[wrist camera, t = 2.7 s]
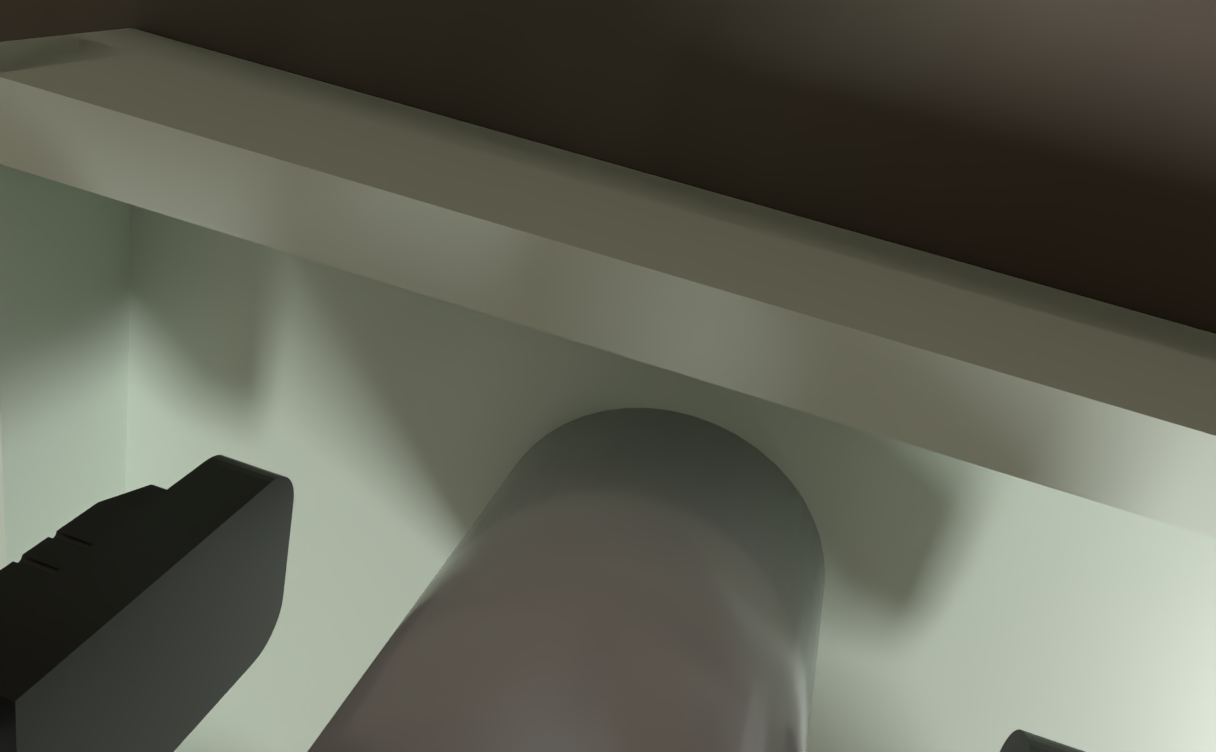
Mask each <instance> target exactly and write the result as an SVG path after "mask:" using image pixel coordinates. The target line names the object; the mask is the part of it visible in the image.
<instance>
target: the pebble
mask: <svg viewBox="0 0 1216 752" xmlns="http://www.w3.org/2000/svg"><path fill="white" fill-rule="evenodd" d="M824 587H825V560H824V554H823V549H822V544H821V539H820V536H819V533H818V530H817V527H816V525H815V522H814V519H813V517H812V515H811V513H810V511H809V509H808V507H807V505H806V503H805V501H804V500H803V498H802V497H801V495H800V494H799V492H798V491H797V489H796V488H795V487H794V485H793V484H792V482H791V481H790V480H789V479H788V478H787V477H786V475H785V474H784V473H783V472H782V471H781V470H780V469H779V468H778V466H777V465H776V464H775V463H773V462H772V461H771V460H770V459H769V458H768V457H766V456H765V455H764V454H763V453H762V452H761V451H760V450H758V449H757V448H756V447H754V446H753V445H751V444H750V443H748V442H747V441H745V440H744V439H742V438H741V437H739V436H738V435H736V434H734V433H732V432H730V431H728V430H726V429H724V428H722V427H720V426H718V425H716V424H713V423H711V422H708V421H706V420H703V419H700V418H698V417H695V416H691V415H687V414H683V413H679V412H675V411H669V410H661V409H653V408H622V409H614V410H606V411H601V412H597V413H594V414H590V415H586V416H583V417H580V418H578V419H575V420H573V421H571V422H568V423H566V424H564V425H562V426H560V427H559V428H557V429H555V430H553V431H552V432H550V433H548V434H547V435H546V436H544V437H543V438H542V439H541V440H539V441H538V442H537V443H536V444H534V445H533V446H532V447H531V448H530V449H529V450H528V451H527V452H526V454H525V455H524V456H523V457H522V458H521V459H520V460H519V461H518V463H517V464H516V466H515V467H514V468H513V470H512V471H511V472H510V474H509V475H508V477H507V478H506V479H505V481H504V482H503V483H502V485H501V486H500V487H499V489H498V490H497V492H496V493H495V494H494V496H493V497H492V498H491V500H490V501H489V503H488V504H487V505H486V507H485V508H484V509H483V511H482V512H481V514H480V515H479V516H478V518H477V519H476V520H475V522H474V523H473V525H472V526H471V527H470V529H469V530H468V531H467V533H466V534H465V536H464V537H463V538H462V540H461V541H460V542H459V544H458V545H457V547H456V548H455V549H454V551H453V552H452V553H451V555H450V556H449V558H448V559H447V560H446V562H445V563H444V564H443V566H442V567H441V569H440V570H439V571H438V573H437V574H436V575H435V577H434V578H433V580H432V581H431V582H430V584H429V585H428V586H427V588H426V589H425V591H424V592H423V593H422V595H421V596H420V597H419V599H418V600H417V602H416V603H415V604H414V606H413V607H412V608H411V610H410V611H409V613H408V614H407V615H406V617H405V618H404V619H403V621H402V622H401V624H400V625H399V626H398V628H397V629H396V630H395V632H394V633H393V635H392V636H391V637H390V639H389V640H388V641H387V643H386V644H385V646H384V647H383V648H382V650H381V651H380V652H379V654H378V655H377V657H376V658H375V659H374V661H373V662H372V663H371V665H370V666H369V668H368V669H367V670H366V672H365V673H364V674H363V676H362V677H361V679H360V680H359V681H358V683H357V684H356V685H355V687H354V688H353V690H352V691H351V692H350V694H349V695H348V696H347V698H346V699H345V701H344V702H343V703H342V705H341V706H340V707H339V709H338V710H337V712H336V713H335V714H334V716H333V717H332V718H331V720H330V721H329V723H328V724H327V725H326V727H325V728H324V729H323V731H322V732H321V734H320V735H319V736H318V738H317V739H316V740H315V742H314V743H313V745H312V746H311V747H310V749H309V750H308V751H307V752H807V744H808V735H809V726H810V717H811V707H812V698H813V689H814V679H815V670H816V661H817V652H818V642H819V633H820V624H821V615H822V605H823V596H824Z"/></svg>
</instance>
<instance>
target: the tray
mask: <svg viewBox="0 0 1216 752" xmlns="http://www.w3.org/2000/svg"><path fill="white" fill-rule="evenodd" d="M622 408H653V409H661V410H669V411H675V412H679V413H683V414H687V415H691V416H695V417H698V418H700V419H703V420H706V421H708V422H711V423H713V424H716V425H718V426H720V427H722V428H724V429H726V430H728V431H730V432H732V433H734V434H736V435H738V436H739V437H741V438H742V439H744V440H745V441H747V442H748V443H750V444H751V445H753V446H754V447H756V448H757V449H758V450H760V451H761V452H762V453H763V454H764V455H765V456H766V457H768V458H769V459H770V460H771V461H772V462H773V463H775V464H776V465H777V466H778V468H779V469H780V470H781V471H782V472H783V473H784V474H785V475H786V477H787V478H788V479H789V480H790V481H791V482H792V484H793V485H794V487H795V488H796V489H797V491H798V492H799V494H800V495H801V497H802V498H803V500H804V501H805V503H806V505H807V507H808V509H809V511H810V513H811V515H812V517H813V519H814V522H815V525H816V527H817V530H818V533H819V536H820V539H821V544H822V549H823V554H824V560H825V587H824V596H823V605H822V615H821V624H820V633H819V642H818V652H817V661H816V670H815V679H814V689H813V698H812V707H811V717H810V726H809V735H808V744H807V752H1000V750H1001V748H1002V746H1003V744H1004V743H1005V741H1006V739H1007V738H1008V737H1009V735H1010V734H1011V733H1012V732H1014V731H1015V730H1019V729H1020V730H1023V731H1026V732H1029V733H1032V734H1035V735H1038V736H1041V737H1044V738H1047V739H1050V740H1053V741H1056V742H1058V743H1061V744H1064V745H1067V746H1070V747H1073V748H1076V749H1079V750H1082V751H1085V752H1216V334H1215V333H1211V332H1208V331H1204V330H1200V329H1197V328H1193V327H1190V326H1186V325H1183V324H1179V323H1176V322H1172V321H1169V320H1165V319H1161V318H1158V317H1154V316H1151V315H1147V314H1144V313H1140V312H1137V311H1133V310H1130V309H1126V308H1122V307H1119V306H1115V305H1112V304H1108V303H1105V302H1101V301H1098V300H1094V299H1091V298H1087V297H1084V296H1080V295H1076V294H1073V293H1069V292H1066V291H1062V290H1059V289H1055V288H1052V287H1048V286H1045V285H1041V284H1037V283H1034V282H1030V281H1027V280H1023V279H1020V278H1016V277H1013V276H1009V275H1006V274H1002V273H998V272H995V271H991V270H988V269H984V268H981V267H977V266H974V265H970V264H967V263H963V262H959V261H956V260H952V259H949V258H945V257H942V256H938V255H935V254H931V253H928V252H924V251H920V250H917V249H913V248H910V247H906V246H903V245H899V244H896V243H892V242H889V241H885V240H881V239H878V238H874V237H871V236H867V235H864V234H860V233H857V232H853V231H850V230H846V229H842V228H839V227H835V226H832V225H828V224H825V223H821V222H818V221H814V220H811V219H807V218H804V217H800V216H796V215H793V214H789V213H786V212H782V211H779V210H775V209H772V208H768V207H765V206H761V205H757V204H754V203H750V202H747V201H743V200H740V199H736V198H733V197H729V196H726V195H722V194H718V193H715V192H711V191H708V190H704V189H701V188H697V187H694V186H690V185H687V184H683V183H679V182H676V181H672V180H669V179H665V178H662V177H658V176H655V175H651V174H648V173H644V172H640V171H637V170H633V169H630V168H626V167H623V166H619V165H616V164H612V163H609V162H605V161H601V160H598V159H594V158H591V157H587V156H584V155H580V154H577V153H573V152H570V151H566V150H562V149H559V148H555V147H552V146H548V145H545V144H541V143H538V142H534V141H531V140H527V139H524V138H520V137H516V136H513V135H509V134H506V133H502V132H499V131H495V130H492V129H488V128H485V127H481V126H477V125H474V124H470V123H467V122H463V121H460V120H456V119H453V118H449V117H446V116H442V115H438V114H435V113H431V112H428V111H424V110H421V109H417V108H414V107H410V106H407V105H403V104H399V103H396V102H392V101H389V100H385V99H382V98H378V97H375V96H371V95H368V94H364V93H360V92H357V91H353V90H350V89H346V88H343V87H339V86H336V85H332V84H329V83H325V82H321V81H318V80H314V79H311V78H307V77H304V76H300V75H297V74H293V73H290V72H286V71H283V70H279V69H275V68H272V67H268V66H265V65H261V64H258V63H254V62H251V61H247V60H244V59H240V58H236V57H233V56H229V55H226V54H222V53H219V52H215V51H212V50H208V49H205V48H201V47H197V46H194V45H190V44H187V43H183V42H180V41H176V40H173V39H169V38H166V37H162V36H158V35H155V34H151V33H148V32H144V31H141V30H137V29H134V28H125V29H116V30H106V31H97V32H88V33H78V34H69V35H60V36H50V37H41V38H32V39H22V40H13V41H4V42H0V570H1V569H2V568H4V567H5V566H7V565H8V564H10V563H11V562H13V561H14V562H17V563H18V562H19V561H20V560H21V557H22V555H23V554H24V553H25V552H27V551H28V550H30V549H31V548H33V547H34V546H36V545H37V544H38V543H40V542H41V541H43V540H44V539H46V538H47V537H50V538H54V536H55V535H56V531H57V530H59V529H60V528H62V527H63V526H64V525H66V524H67V523H69V522H70V521H72V520H73V519H74V518H76V517H77V516H79V515H80V514H82V513H83V512H85V511H86V510H87V509H89V508H90V507H92V506H93V505H95V504H96V503H98V502H100V501H103V500H106V499H109V498H112V497H115V496H118V495H121V494H124V493H127V492H130V491H133V490H136V489H139V488H142V487H145V486H148V485H151V484H152V485H155V486H158V487H161V488H164V489H168V488H170V487H171V486H172V485H174V484H175V483H176V482H178V481H179V480H180V479H182V478H183V477H184V476H186V475H187V474H189V473H190V472H191V471H193V470H194V469H195V468H197V467H198V466H199V465H201V464H202V463H203V462H205V461H206V460H208V459H209V458H211V457H213V456H216V455H223V456H226V457H229V458H232V459H235V460H238V461H241V462H244V463H247V464H250V465H253V466H255V467H258V468H261V469H264V470H267V471H270V472H273V473H276V474H279V475H282V476H285V477H288V478H289V479H290V480H291V482H292V484H293V489H294V502H293V511H292V520H291V530H290V539H289V548H288V557H287V566H286V576H285V585H284V594H283V601H282V606H281V611H280V614H279V617H278V620H277V623H276V625H275V628H274V630H273V632H272V635H271V637H270V639H269V641H268V643H267V644H266V646H265V648H264V649H263V651H262V652H261V654H260V655H259V657H258V658H257V659H256V660H255V662H254V663H253V664H252V665H251V666H250V667H249V668H248V670H247V671H246V672H245V673H244V674H243V675H242V676H241V677H240V678H239V680H238V681H237V682H236V683H235V684H234V685H233V686H232V687H231V688H230V690H229V691H228V692H227V693H226V694H225V695H224V696H223V697H222V699H221V700H220V701H219V702H218V703H217V704H216V705H215V706H214V707H213V709H212V710H211V711H210V712H209V713H208V714H207V715H206V716H205V717H204V719H203V720H202V721H201V722H200V723H199V724H198V725H197V726H196V727H195V729H194V730H193V731H192V732H191V733H190V734H189V735H188V736H187V737H186V739H185V740H184V741H183V742H182V743H181V744H180V745H179V746H178V748H177V749H176V750H175V751H174V752H307V751H308V750H309V749H310V747H311V746H312V745H313V743H314V742H315V740H316V739H317V738H318V736H319V735H320V734H321V732H322V731H323V729H324V728H325V727H326V725H327V724H328V723H329V721H330V720H331V718H332V717H333V716H334V714H335V713H336V712H337V710H338V709H339V707H340V706H341V705H342V703H343V702H344V701H345V699H346V698H347V696H348V695H349V694H350V692H351V691H352V690H353V688H354V687H355V685H356V684H357V683H358V681H359V680H360V679H361V677H362V676H363V674H364V673H365V672H366V670H367V669H368V668H369V666H370V665H371V663H372V662H373V661H374V659H375V658H376V657H377V655H378V654H379V652H380V651H381V650H382V648H383V647H384V646H385V644H386V643H387V641H388V640H389V639H390V637H391V636H392V635H393V633H394V632H395V630H396V629H397V628H398V626H399V625H400V624H401V622H402V621H403V619H404V618H405V617H406V615H407V614H408V613H409V611H410V610H411V608H412V607H413V606H414V604H415V603H416V602H417V600H418V599H419V597H420V596H421V595H422V593H423V592H424V591H425V589H426V588H427V586H428V585H429V584H430V582H431V581H432V580H433V578H434V577H435V575H436V574H437V573H438V571H439V570H440V569H441V567H442V566H443V564H444V563H445V562H446V560H447V559H448V558H449V556H450V555H451V553H452V552H453V551H454V549H455V548H456V547H457V545H458V544H459V542H460V541H461V540H462V538H463V537H464V536H465V534H466V533H467V531H468V530H469V529H470V527H471V526H472V525H473V523H474V522H475V520H476V519H477V518H478V516H479V515H480V514H481V512H482V511H483V509H484V508H485V507H486V505H487V504H488V503H489V501H490V500H491V498H492V497H493V496H494V494H495V493H496V492H497V490H498V489H499V487H500V486H501V485H502V483H503V482H504V481H505V479H506V478H507V477H508V475H509V474H510V472H511V471H512V470H513V468H514V467H515V466H516V464H517V463H518V461H519V460H520V459H521V458H522V457H523V456H524V455H525V454H526V452H527V451H528V450H529V449H530V448H531V447H532V446H533V445H534V444H536V443H537V442H538V441H539V440H541V439H542V438H543V437H544V436H546V435H547V434H548V433H550V432H552V431H553V430H555V429H557V428H559V427H560V426H562V425H564V424H566V423H568V422H571V421H573V420H575V419H578V418H580V417H583V416H586V415H590V414H594V413H597V412H601V411H606V410H614V409H622Z"/></svg>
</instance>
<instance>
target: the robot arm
mask: <svg viewBox="0 0 1216 752" xmlns="http://www.w3.org/2000/svg"><path fill="white" fill-rule="evenodd" d="M293 502H294V489H293V484H292V482H291V480H290V479H289V478H288V477H285V476H282V475H279V474H276V473H273V472H270V471H267V470H264V469H261V468H258V467H255V466H253V465H250V464H247V463H244V462H241V461H238V460H235V459H232V458H229V457H226V456H223V455H216V456H213V457H211V458H209V459H208V460H206V461H205V462H203V463H202V464H201V465H199V466H198V467H197V468H195V469H194V470H193V471H191V472H190V473H189V474H187V475H186V476H184V477H183V478H182V479H180V480H179V481H178V482H176V483H175V484H174V485H172V486H171V487H170V488H168V489H164V488H161V487H158V486H155V485H152V484H151V485H148V486H145V487H142V488H139V489H136V490H133V491H130V492H127V493H124V494H121V495H118V496H115V497H112V498H109V499H106V500H103V501H100V502H98V503H96V504H95V505H93V506H92V507H90V508H89V509H87V510H86V511H85V512H83V513H82V514H80V515H79V516H77V517H76V518H74V519H73V520H72V521H70V522H69V523H67V524H66V525H64V526H63V527H62V528H60V529H59V530H57V531H56V535H55V536H54V538H50V537H47V538H46V539H44V540H43V541H41V542H40V543H38V544H37V545H36V546H34V547H33V548H31V549H30V550H28V551H27V552H25V553H24V554H23V555H22V557H21V560H20V561H19V562H18V563H17V562H14V561H13V562H11V563H10V564H8V565H7V566H5V567H4V568H2V569H1V570H0V752H174V751H175V750H176V749H177V748H178V746H179V745H180V744H181V743H182V742H183V741H184V740H185V739H186V737H187V736H188V735H189V734H190V733H191V732H192V731H193V730H194V729H195V727H196V726H197V725H198V724H199V723H200V722H201V721H202V720H203V719H204V717H205V716H206V715H207V714H208V713H209V712H210V711H211V710H212V709H213V707H214V706H215V705H216V704H217V703H218V702H219V701H220V700H221V699H222V697H223V696H224V695H225V694H226V693H227V692H228V691H229V690H230V688H231V687H232V686H233V685H234V684H235V683H236V682H237V681H238V680H239V678H240V677H241V676H242V675H243V674H244V673H245V672H246V671H247V670H248V668H249V667H250V666H251V665H252V664H253V663H254V662H255V660H256V659H257V658H258V657H259V655H260V654H261V652H262V651H263V649H264V648H265V646H266V644H267V643H268V641H269V639H270V637H271V635H272V632H273V630H274V628H275V625H276V623H277V620H278V617H279V614H280V611H281V606H282V601H283V594H284V585H285V576H286V566H287V557H288V548H289V539H290V530H291V520H292V511H293ZM1000 752H1085V751H1082V750H1079V749H1076V748H1073V747H1070V746H1067V745H1064V744H1061V743H1058V742H1056V741H1053V740H1050V739H1047V738H1044V737H1041V736H1038V735H1035V734H1032V733H1029V732H1026V731H1023V730H1020V729H1019V730H1015V731H1014V732H1012V733H1011V734H1010V735H1009V737H1008V738H1007V739H1006V741H1005V743H1004V744H1003V746H1002V748H1001V750H1000Z"/></svg>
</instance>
